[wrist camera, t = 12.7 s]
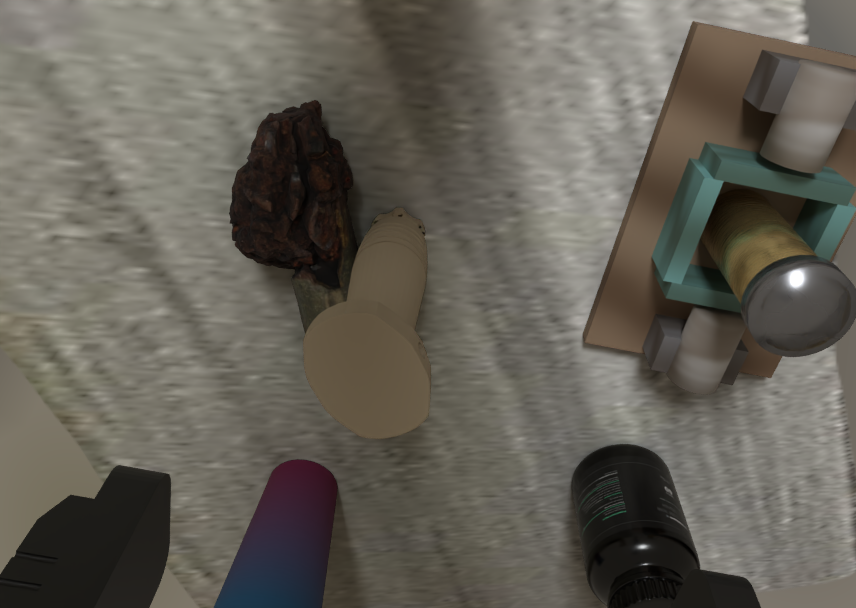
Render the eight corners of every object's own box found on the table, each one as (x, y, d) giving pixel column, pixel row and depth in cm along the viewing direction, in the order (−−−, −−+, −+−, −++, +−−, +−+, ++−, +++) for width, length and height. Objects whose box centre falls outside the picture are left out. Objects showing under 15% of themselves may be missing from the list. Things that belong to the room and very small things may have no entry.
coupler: (711, 176, 40) (775, 257, 31) (792, 193, 40) (878, 278, 32) (680, 250, 42) (732, 346, 34) (757, 266, 43) (829, 365, 34)
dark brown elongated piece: (397, 359, 49) (387, 414, 44) (298, 368, 50) (278, 422, 45) (341, 91, 40) (322, 121, 35) (223, 107, 41) (188, 139, 36)
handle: (414, 167, 42) (388, 297, 29) (456, 262, 45) (450, 419, 32) (338, 197, 43) (279, 335, 30) (384, 288, 46) (349, 450, 33)
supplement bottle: (687, 485, 52) (740, 635, 42) (604, 526, 55) (635, 677, 44) (636, 424, 50) (679, 568, 40) (551, 470, 52) (571, 616, 42)
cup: (345, 524, 56) (308, 718, 43) (256, 512, 56) (191, 703, 43) (353, 456, 53) (315, 645, 40) (258, 443, 53) (188, 628, 40)
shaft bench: (692, 21, 37) (722, 39, 33) (919, 69, 38) (977, 94, 33) (582, 334, 47) (594, 380, 42) (765, 368, 47) (795, 418, 43)
